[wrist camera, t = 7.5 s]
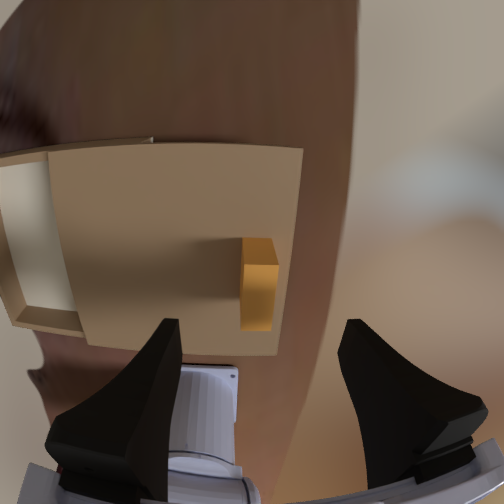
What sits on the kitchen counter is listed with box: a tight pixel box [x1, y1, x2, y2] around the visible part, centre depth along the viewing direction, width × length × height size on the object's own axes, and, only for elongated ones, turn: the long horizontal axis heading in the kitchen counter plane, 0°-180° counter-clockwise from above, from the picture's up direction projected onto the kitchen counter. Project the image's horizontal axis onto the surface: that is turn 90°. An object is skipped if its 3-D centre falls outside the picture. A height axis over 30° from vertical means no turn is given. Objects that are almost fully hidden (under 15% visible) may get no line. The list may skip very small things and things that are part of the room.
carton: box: [0, 137, 153, 338], centre depth 19 cm, size 14×14×3 cm
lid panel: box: [48, 142, 303, 356], centre depth 16 cm, size 14×14×4 cm
